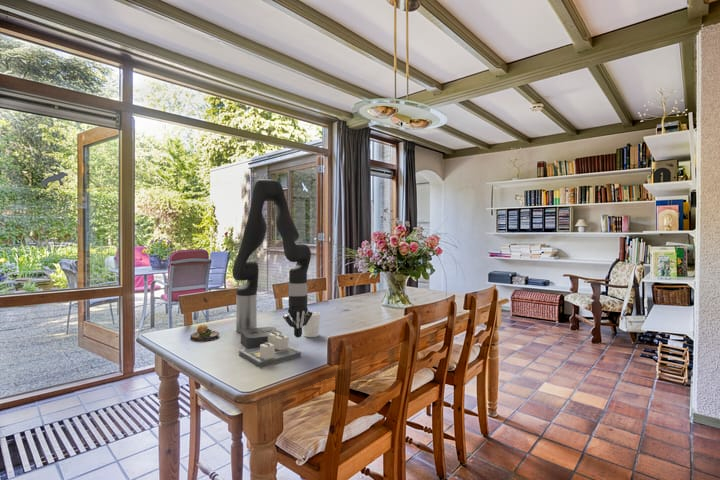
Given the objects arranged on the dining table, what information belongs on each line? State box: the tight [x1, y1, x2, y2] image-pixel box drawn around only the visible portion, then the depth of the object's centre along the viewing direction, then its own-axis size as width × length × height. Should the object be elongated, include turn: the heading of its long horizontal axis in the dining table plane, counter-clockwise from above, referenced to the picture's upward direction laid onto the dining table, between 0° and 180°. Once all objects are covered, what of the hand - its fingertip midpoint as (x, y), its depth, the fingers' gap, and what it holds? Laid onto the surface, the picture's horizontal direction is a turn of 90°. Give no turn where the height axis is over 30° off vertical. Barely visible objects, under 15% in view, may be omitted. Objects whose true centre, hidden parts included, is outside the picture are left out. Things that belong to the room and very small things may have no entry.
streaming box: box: [240, 326, 282, 350], centre depth 158 cm, size 14×14×5 cm
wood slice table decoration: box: [190, 324, 220, 342], centre depth 165 cm, size 12×12×8 cm
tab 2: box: [268, 332, 282, 345], centre depth 150 cm, size 4×4×5 cm
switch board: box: [238, 345, 302, 368], centre depth 143 cm, size 16×17×2 cm
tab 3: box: [275, 334, 289, 351], centre depth 146 cm, size 4×4×5 cm
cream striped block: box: [260, 342, 275, 360], centre depth 136 cm, size 4×4×5 cm
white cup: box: [302, 311, 321, 338], centre depth 171 cm, size 8×8×10 cm
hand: (298, 336), depth 150 cm, fingers closed
